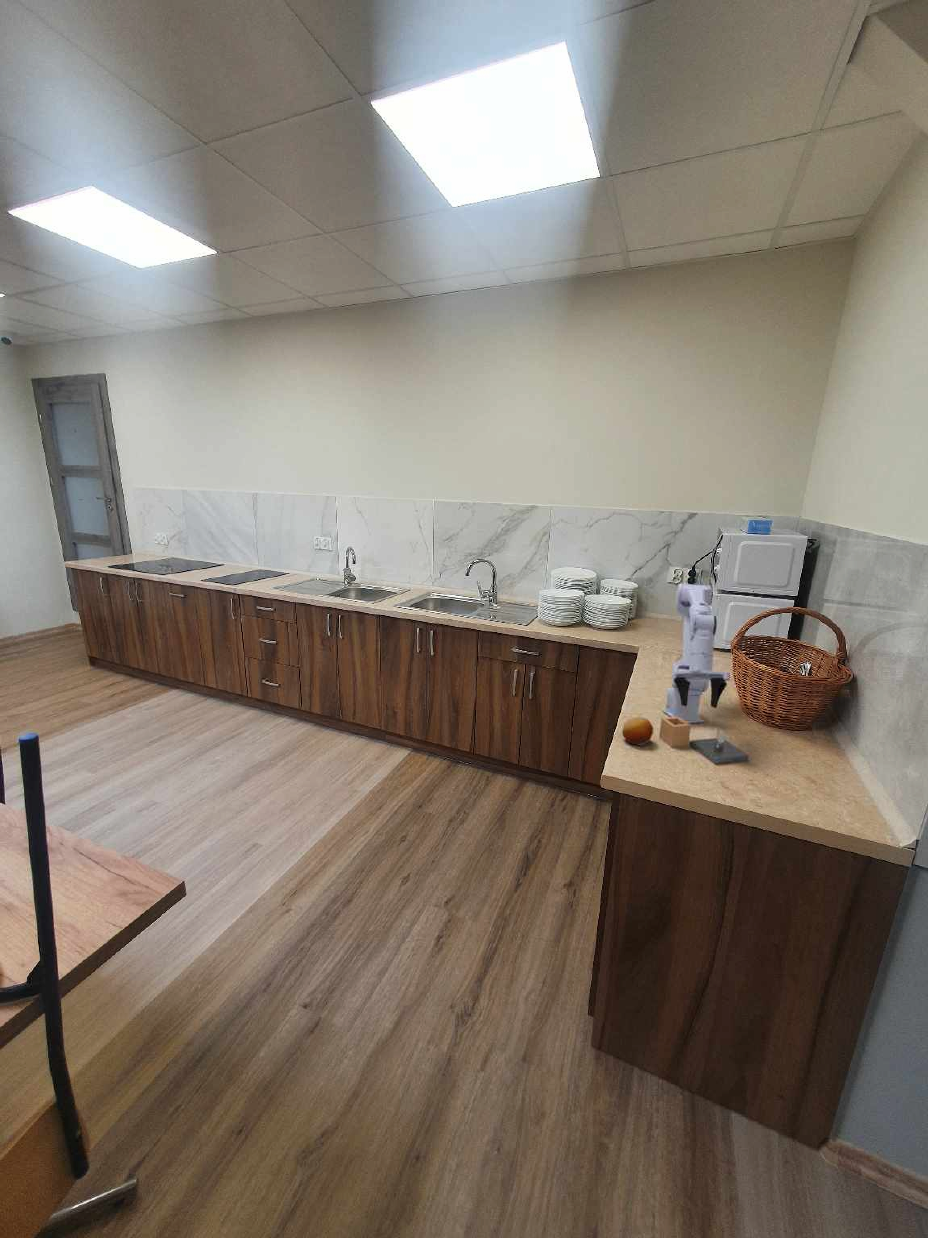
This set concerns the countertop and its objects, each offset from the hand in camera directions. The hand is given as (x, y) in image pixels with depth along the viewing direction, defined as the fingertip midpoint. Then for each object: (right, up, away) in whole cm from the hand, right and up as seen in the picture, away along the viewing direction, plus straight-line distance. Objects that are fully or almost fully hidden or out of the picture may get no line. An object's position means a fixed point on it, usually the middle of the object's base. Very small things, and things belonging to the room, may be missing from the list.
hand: (698, 706), depth 135 cm
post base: (+6, -13, +1) cm, 14 cm away
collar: (-4, -11, +6) cm, 13 cm away
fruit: (-14, -11, +6) cm, 19 cm away
